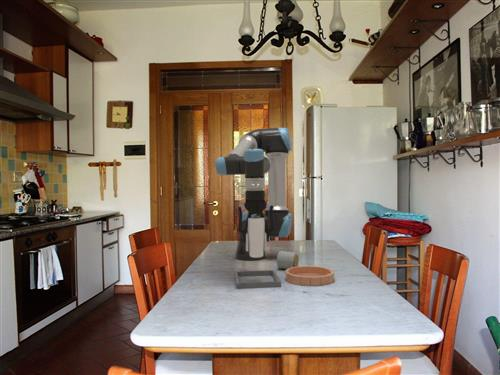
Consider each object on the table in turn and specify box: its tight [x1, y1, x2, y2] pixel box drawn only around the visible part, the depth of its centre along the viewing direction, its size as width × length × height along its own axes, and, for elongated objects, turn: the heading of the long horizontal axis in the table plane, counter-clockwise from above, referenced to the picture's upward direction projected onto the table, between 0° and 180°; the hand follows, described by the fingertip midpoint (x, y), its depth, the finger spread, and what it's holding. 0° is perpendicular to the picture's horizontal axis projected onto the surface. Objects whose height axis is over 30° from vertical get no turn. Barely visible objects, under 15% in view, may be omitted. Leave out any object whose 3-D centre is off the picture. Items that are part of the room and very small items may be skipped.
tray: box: [234, 269, 282, 289], centre depth 142 cm, size 18×16×2 cm
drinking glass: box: [247, 217, 265, 258], centre depth 142 cm, size 7×7×15 cm
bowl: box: [284, 265, 335, 287], centre depth 143 cm, size 18×18×3 cm
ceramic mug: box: [276, 250, 300, 270], centre depth 162 cm, size 11×8×8 cm
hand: (256, 250), depth 142 cm, fingers closed on drinking glass, 6 cm apart
